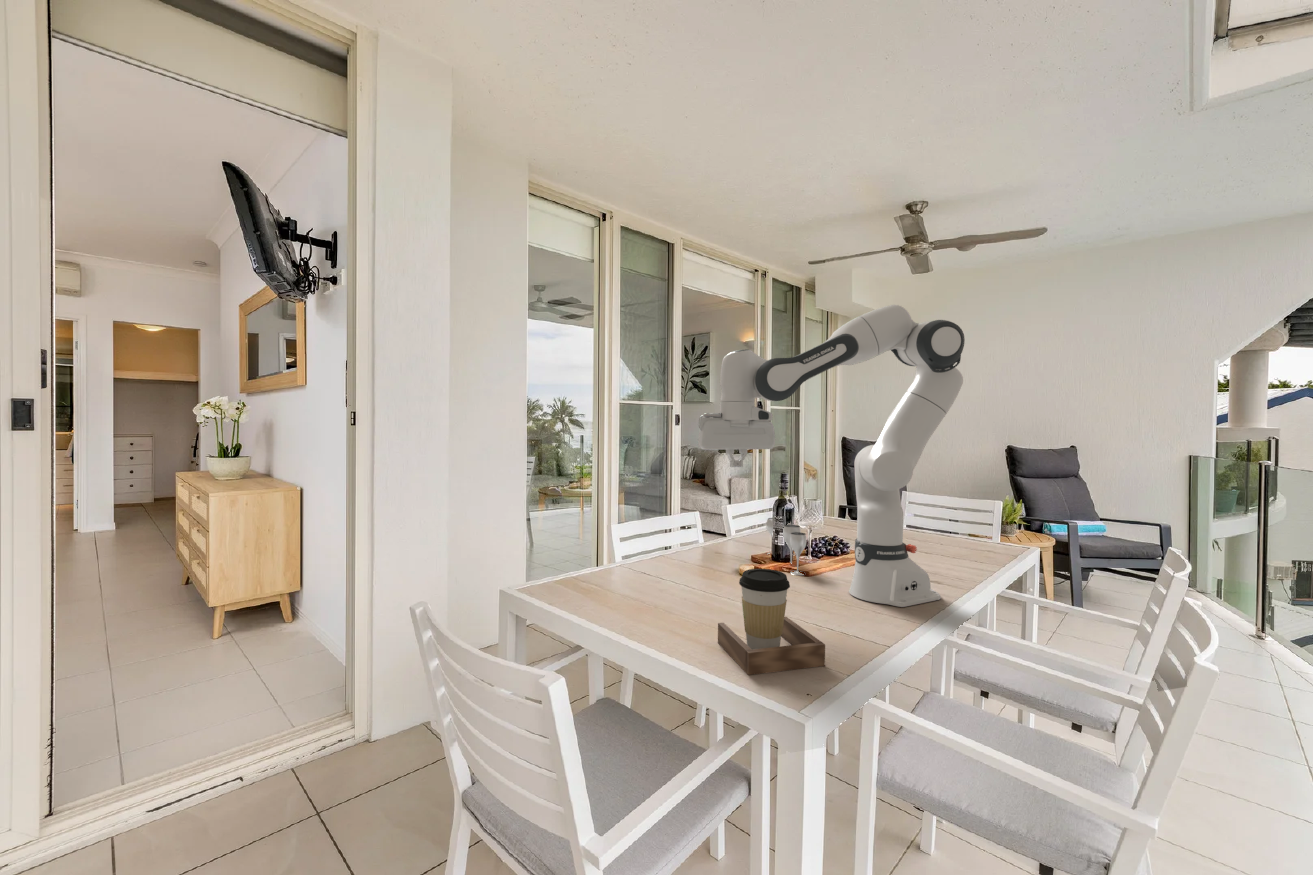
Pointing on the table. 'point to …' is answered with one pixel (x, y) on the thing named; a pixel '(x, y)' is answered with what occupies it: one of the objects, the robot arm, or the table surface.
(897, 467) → the robot arm
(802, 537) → the goblet set
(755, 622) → the coffee cup
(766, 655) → the walnut caddy
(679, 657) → the table surface
